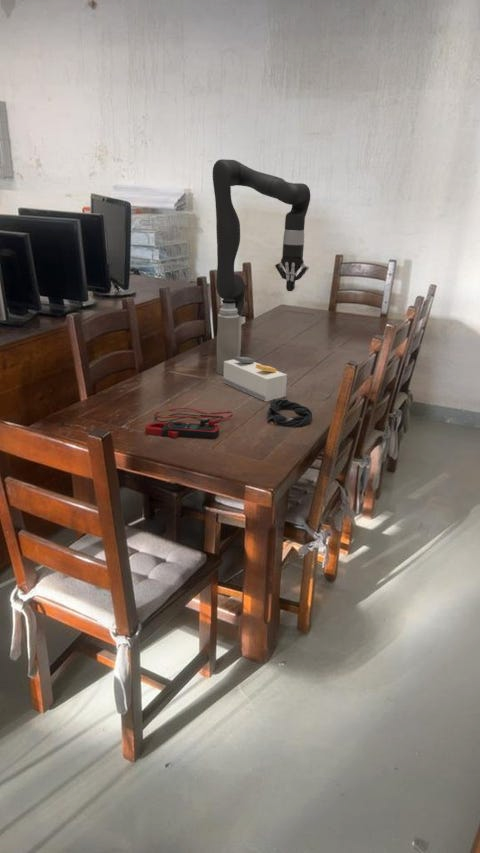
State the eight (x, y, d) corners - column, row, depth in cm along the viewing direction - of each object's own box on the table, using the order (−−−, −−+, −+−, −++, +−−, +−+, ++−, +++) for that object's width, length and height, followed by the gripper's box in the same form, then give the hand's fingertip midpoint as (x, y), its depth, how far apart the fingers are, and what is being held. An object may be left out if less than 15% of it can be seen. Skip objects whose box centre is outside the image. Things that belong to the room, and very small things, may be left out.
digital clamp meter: (227, 429, 167) (141, 423, 169) (227, 444, 169) (141, 437, 171) (236, 400, 189) (159, 395, 191) (236, 413, 190) (160, 408, 192)
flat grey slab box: (233, 360, 211) (234, 356, 211) (246, 361, 215) (247, 357, 214) (240, 363, 208) (241, 359, 208) (253, 364, 212) (254, 359, 212)
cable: (271, 405, 197) (272, 393, 195) (313, 409, 195) (314, 397, 193) (264, 425, 182) (265, 412, 180) (309, 429, 180) (311, 416, 178)
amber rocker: (255, 369, 202) (256, 364, 202) (267, 370, 206) (268, 366, 206) (262, 372, 200) (264, 367, 199) (275, 373, 204) (276, 369, 203)
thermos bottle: (222, 368, 232) (223, 296, 221) (240, 371, 229) (243, 299, 218) (213, 373, 226) (214, 300, 214) (232, 376, 223) (234, 302, 211)
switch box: (222, 382, 216) (222, 361, 213) (242, 377, 222) (243, 357, 219) (264, 401, 199) (266, 379, 196) (285, 396, 205) (286, 374, 202)
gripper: (272, 242, 213) (270, 290, 220) (306, 245, 208) (303, 294, 215) (280, 240, 219) (277, 287, 226) (314, 243, 214) (310, 291, 221)
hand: (290, 290), depth 220 cm, fingers closed
